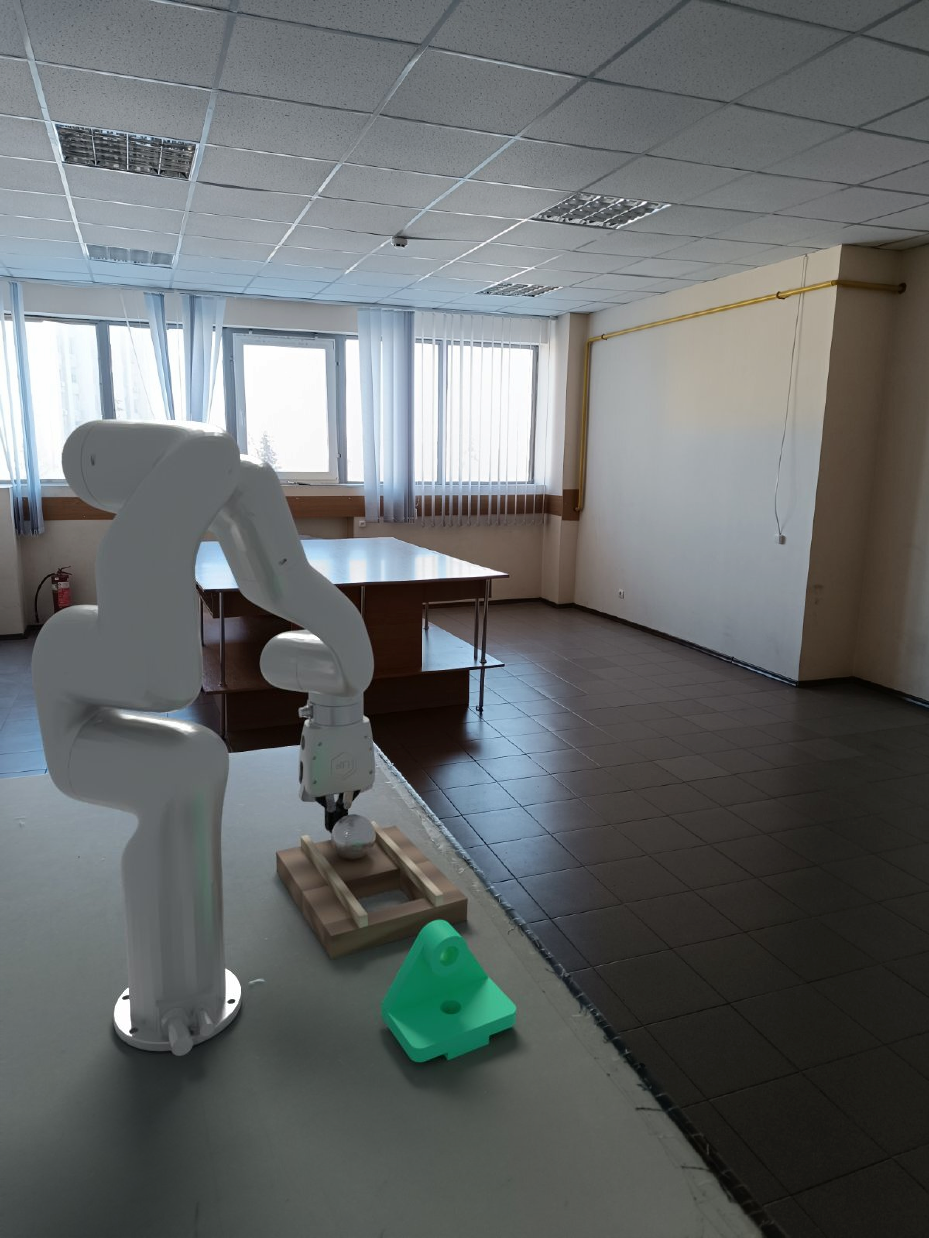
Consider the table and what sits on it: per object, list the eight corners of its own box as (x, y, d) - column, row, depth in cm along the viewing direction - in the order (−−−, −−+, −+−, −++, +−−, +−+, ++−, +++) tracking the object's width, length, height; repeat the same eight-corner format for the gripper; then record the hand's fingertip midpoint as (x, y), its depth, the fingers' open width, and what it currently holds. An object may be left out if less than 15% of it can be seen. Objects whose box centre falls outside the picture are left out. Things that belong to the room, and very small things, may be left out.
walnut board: (466, 919, 102) (468, 887, 101) (331, 959, 94) (331, 924, 93) (395, 844, 121) (395, 816, 120) (276, 871, 112) (276, 841, 111)
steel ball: (382, 861, 110) (382, 820, 109) (340, 871, 107) (340, 829, 106) (365, 842, 115) (365, 803, 114) (325, 851, 112) (324, 811, 111)
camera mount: (414, 1074, 77) (416, 979, 75) (381, 1025, 83) (382, 936, 81) (519, 1032, 83) (523, 943, 81) (480, 989, 89) (483, 905, 87)
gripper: (292, 726, 106) (293, 855, 110) (396, 711, 113) (394, 833, 117) (275, 710, 112) (277, 832, 116) (375, 697, 119) (374, 812, 123)
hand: (336, 832), depth 116 cm, fingers closed
